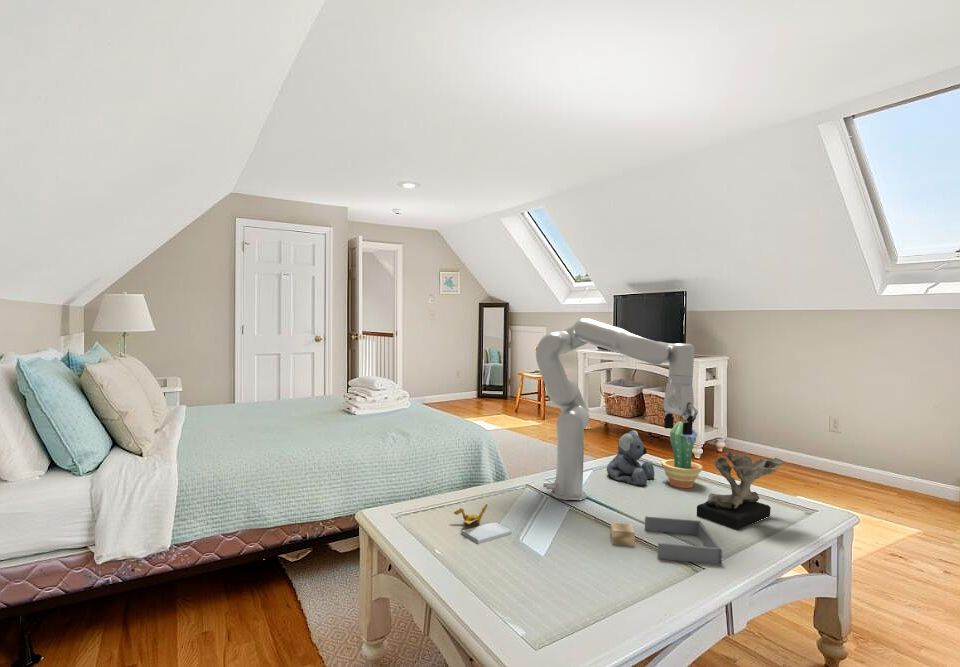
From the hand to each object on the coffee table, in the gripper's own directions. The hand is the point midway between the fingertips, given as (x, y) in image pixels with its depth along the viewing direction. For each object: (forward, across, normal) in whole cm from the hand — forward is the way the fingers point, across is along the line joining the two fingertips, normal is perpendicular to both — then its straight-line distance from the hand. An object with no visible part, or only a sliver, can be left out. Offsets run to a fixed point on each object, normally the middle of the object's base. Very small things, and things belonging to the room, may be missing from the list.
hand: (677, 431), depth 170 cm
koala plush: (+28, -38, +6) cm, 47 cm away
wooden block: (+28, +17, -29) cm, 44 cm away
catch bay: (+28, +23, -14) cm, 39 cm away
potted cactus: (+28, -27, +23) cm, 45 cm away
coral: (+28, +9, +21) cm, 36 cm away
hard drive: (+29, +5, -67) cm, 73 cm away
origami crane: (+28, -1, -69) cm, 75 cm away
